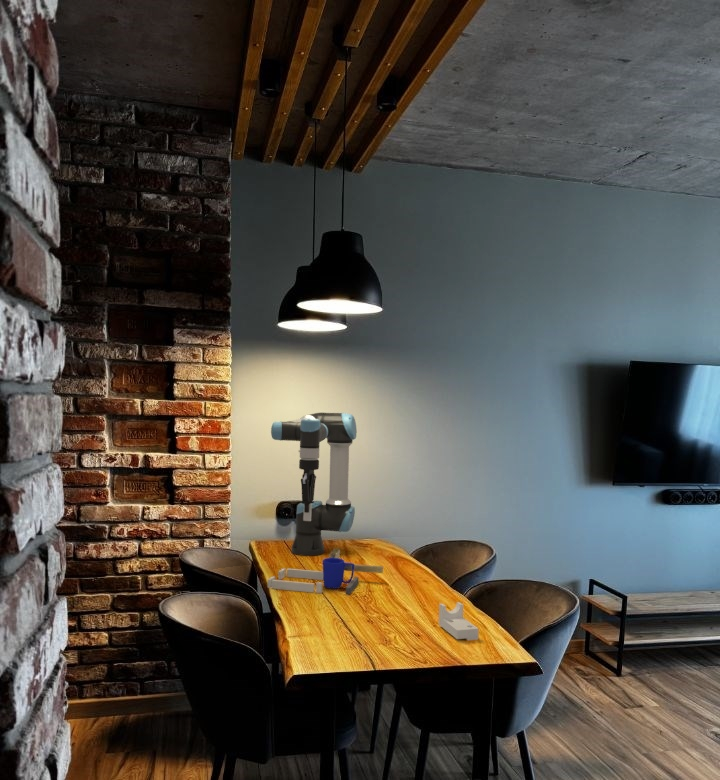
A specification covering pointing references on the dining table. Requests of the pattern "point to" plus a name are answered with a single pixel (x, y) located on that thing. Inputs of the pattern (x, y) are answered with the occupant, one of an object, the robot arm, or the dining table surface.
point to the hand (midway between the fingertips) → (307, 520)
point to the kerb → (352, 585)
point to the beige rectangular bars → (297, 585)
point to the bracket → (457, 623)
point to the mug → (335, 572)
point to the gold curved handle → (360, 568)
